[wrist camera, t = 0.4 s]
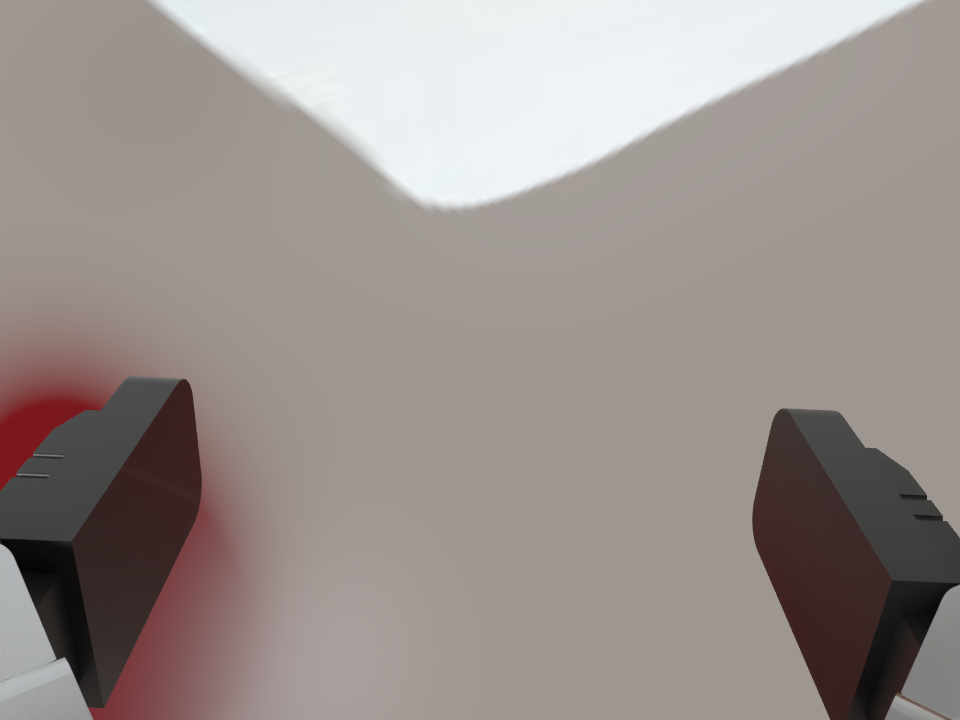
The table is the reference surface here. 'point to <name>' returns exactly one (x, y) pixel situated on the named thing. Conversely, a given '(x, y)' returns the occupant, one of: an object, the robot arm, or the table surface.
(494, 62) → the table surface
